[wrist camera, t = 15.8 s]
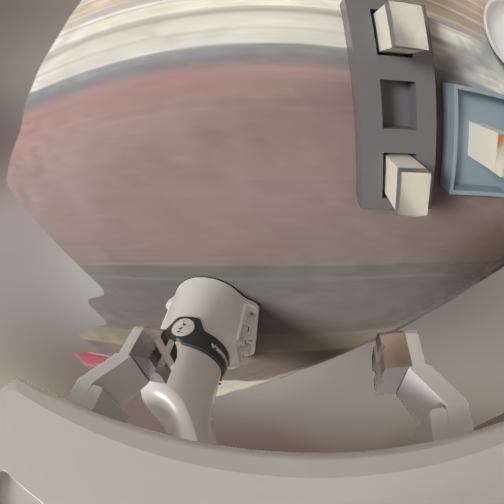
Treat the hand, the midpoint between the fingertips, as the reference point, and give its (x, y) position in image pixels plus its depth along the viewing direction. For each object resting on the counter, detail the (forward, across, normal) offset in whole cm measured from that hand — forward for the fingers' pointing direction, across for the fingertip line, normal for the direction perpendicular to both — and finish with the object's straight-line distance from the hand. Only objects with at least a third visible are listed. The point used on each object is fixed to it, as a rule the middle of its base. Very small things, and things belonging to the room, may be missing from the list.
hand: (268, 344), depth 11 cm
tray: (+31, +27, +2) cm, 41 cm away
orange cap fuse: (+30, +27, +2) cm, 41 cm away
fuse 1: (+30, +13, +15) cm, 36 cm away
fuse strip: (+31, +13, +6) cm, 34 cm away
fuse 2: (+30, +13, -3) cm, 33 cm away
